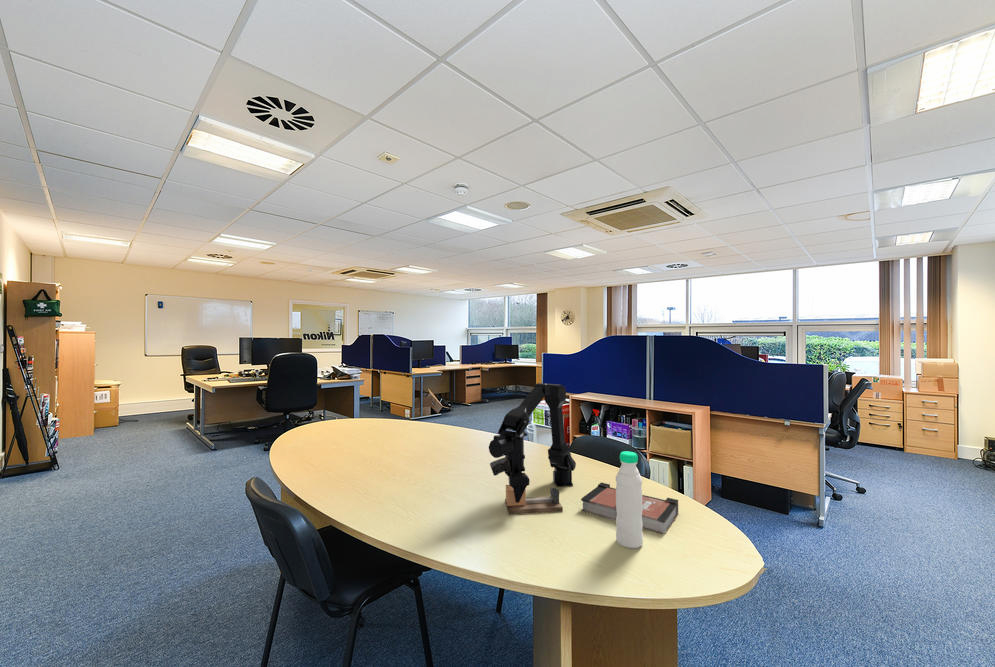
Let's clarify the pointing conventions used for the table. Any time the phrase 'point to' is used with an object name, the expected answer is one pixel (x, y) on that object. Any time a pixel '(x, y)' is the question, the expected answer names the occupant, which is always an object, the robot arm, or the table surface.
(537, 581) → the table surface
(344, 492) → the table surface
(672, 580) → the table surface
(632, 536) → the water bottle
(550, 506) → the board
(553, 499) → the guide rail
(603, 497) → the book
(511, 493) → the block
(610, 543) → the table surface
